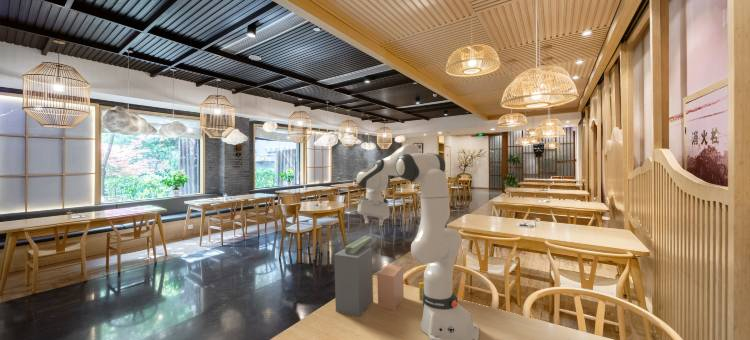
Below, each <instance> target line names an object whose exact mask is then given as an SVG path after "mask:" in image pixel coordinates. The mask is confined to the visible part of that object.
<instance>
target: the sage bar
mask: <svg viewBox="0 0 750 340" xmlns="http://www.w3.org/2000/svg"><path fill="white" fill-rule="evenodd" d="M372 239H373V238H372V236H367V235H364V236H362V237H360V238H358V239H357V240H354V241H353V242H351V243H350V244H347V245H346V246H344V249H345V253H346V254H355V253H356V252H358V251H359V250H361V249H362V248H364V247H366V248H367V246H369V245H371V244H372Z"/></svg>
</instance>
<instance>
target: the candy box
mask: <svg viewBox="0 0 750 340" xmlns="http://www.w3.org/2000/svg"><path fill="white" fill-rule="evenodd" d="M418 289H419V290H418V291H419V292H418V299H419V300H420V301H423V291H424V281H420V282H418ZM452 293H453V294H454V283H453V281H452Z"/></svg>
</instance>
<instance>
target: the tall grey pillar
mask: <svg viewBox="0 0 750 340" xmlns="http://www.w3.org/2000/svg"><path fill="white" fill-rule="evenodd" d="M333 256H334V257H333V260H334V261H333V262H334V263H333V265H334V286H335V287H334V295H335V312H337V313H341V314H346V315H349V316H353V317H357V318H359V317H361V316H362V315H363V314H364V313H365V312H366V310H367V309H368V308H369V307H370V306H372V304H373V303H374V284H373V282H374V279H373V277H374V275H373V248H372V247H367V246H366V247H364V248H362V249H361V250H359V251H358V252H356V253H355V254H346V253H345V248H343V249H341V250H340V251H338V252H335V253H334V254H333Z"/></svg>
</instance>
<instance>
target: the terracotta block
mask: <svg viewBox="0 0 750 340" xmlns="http://www.w3.org/2000/svg"><path fill="white" fill-rule="evenodd" d="M376 275H377V277H376V278H377V306H378V307H379V308H382V309H388V310H391V311H395V310H396V309H397V307H398V306H399V305H400V303H401V302H402V301H403V299H404V296H405V295H404V293H405V291H404V266H401V265H396V264H395V265H394V264H391V263H390V264H389V263H387V264H386V265H385V266H384V267H383V268H382V269H381V270H380V271H379V272H378V273H376Z"/></svg>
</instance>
